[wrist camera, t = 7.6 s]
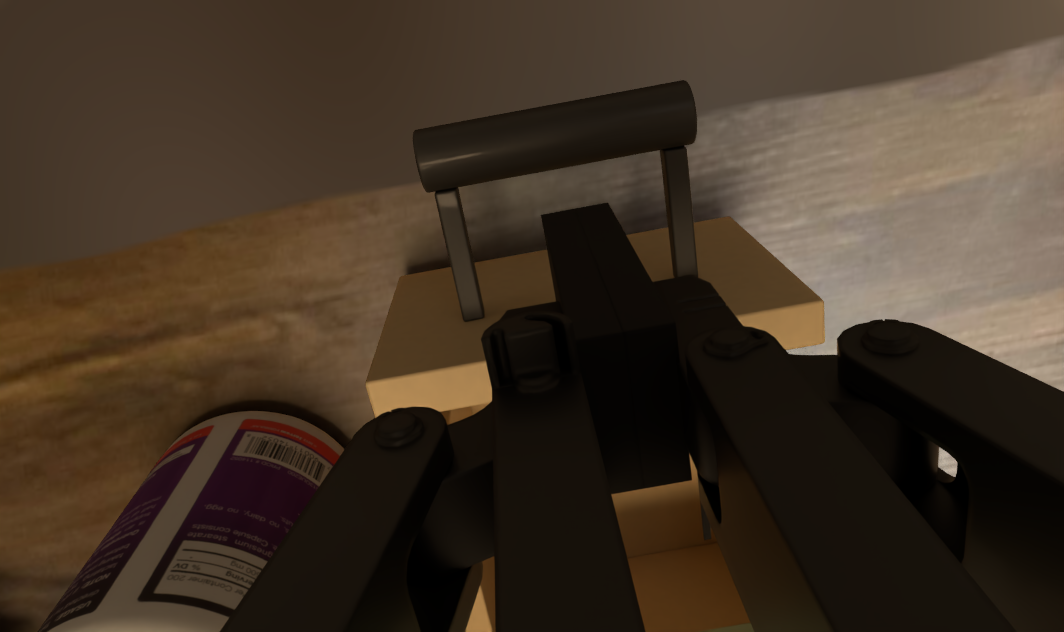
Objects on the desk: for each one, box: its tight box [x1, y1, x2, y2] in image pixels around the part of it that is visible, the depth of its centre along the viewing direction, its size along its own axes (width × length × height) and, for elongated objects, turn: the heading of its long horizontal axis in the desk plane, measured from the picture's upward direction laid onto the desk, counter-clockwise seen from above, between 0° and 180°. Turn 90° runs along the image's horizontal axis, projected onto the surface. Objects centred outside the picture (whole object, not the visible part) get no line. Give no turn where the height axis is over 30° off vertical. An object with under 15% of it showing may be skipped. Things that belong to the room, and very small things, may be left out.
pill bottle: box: [38, 411, 344, 632], centre depth 23 cm, size 8×8×14 cm
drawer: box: [365, 80, 825, 632], centre depth 23 cm, size 19×11×8 cm, turn 10°
